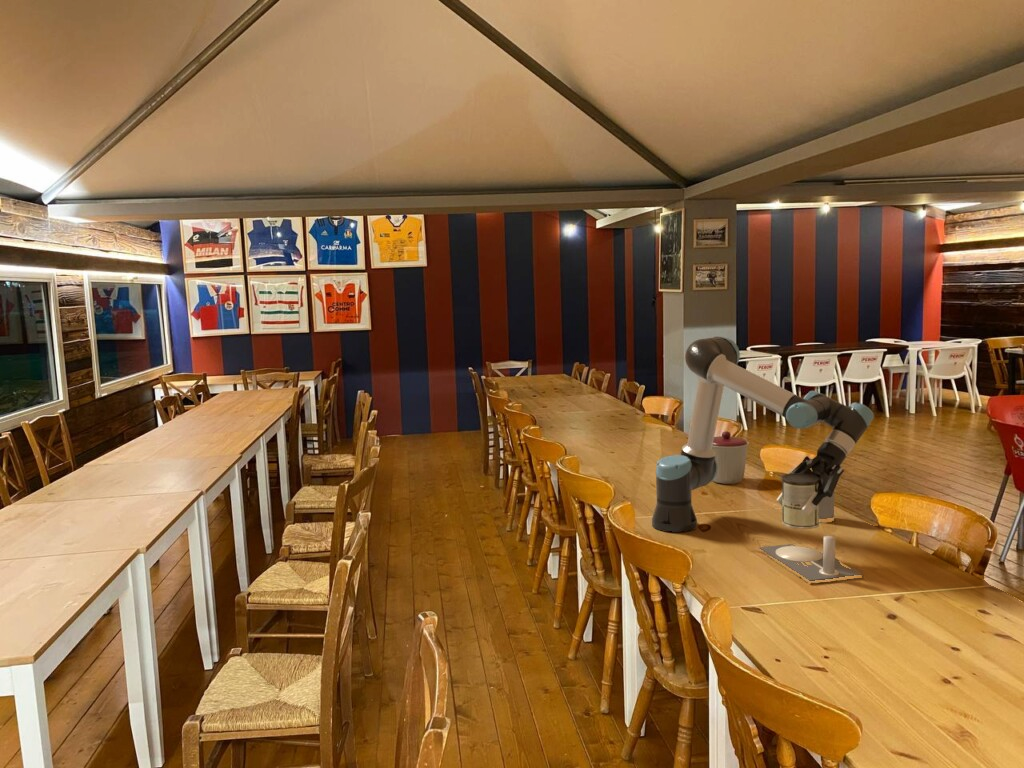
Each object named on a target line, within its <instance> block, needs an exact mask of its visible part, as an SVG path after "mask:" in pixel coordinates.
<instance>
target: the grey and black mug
mask: <svg viewBox="0 0 1024 768" xmlns="http://www.w3.org/2000/svg"><path fill="white" fill-rule="evenodd" d="M815 476H818V477H819V478H820V475H817V474H816V475H815ZM833 517H834V518H835V491H834V492H833V495H832V496H831V497H828V496H826V497H824V498H823V499H822V500H821V501H820V503H819V519H827V518H833Z"/></svg>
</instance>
